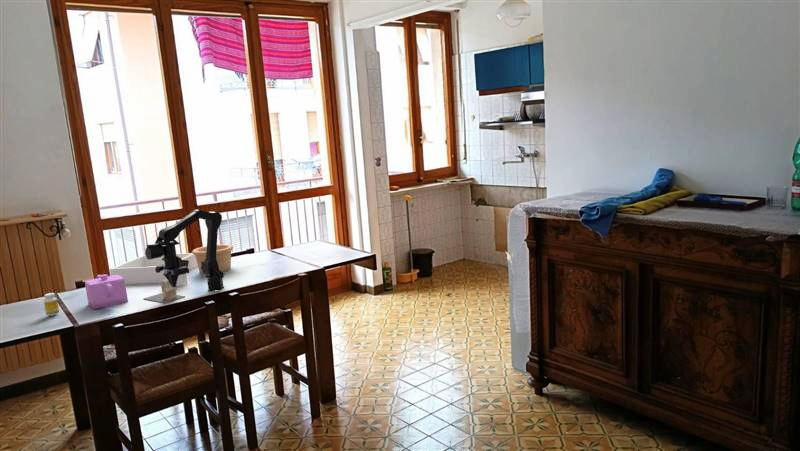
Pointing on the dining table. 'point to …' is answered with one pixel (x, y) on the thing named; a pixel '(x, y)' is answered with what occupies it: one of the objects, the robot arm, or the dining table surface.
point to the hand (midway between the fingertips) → (174, 287)
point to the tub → (147, 269)
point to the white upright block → (181, 279)
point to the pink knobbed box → (106, 291)
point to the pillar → (168, 290)
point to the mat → (161, 298)
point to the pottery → (221, 256)
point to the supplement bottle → (51, 304)
